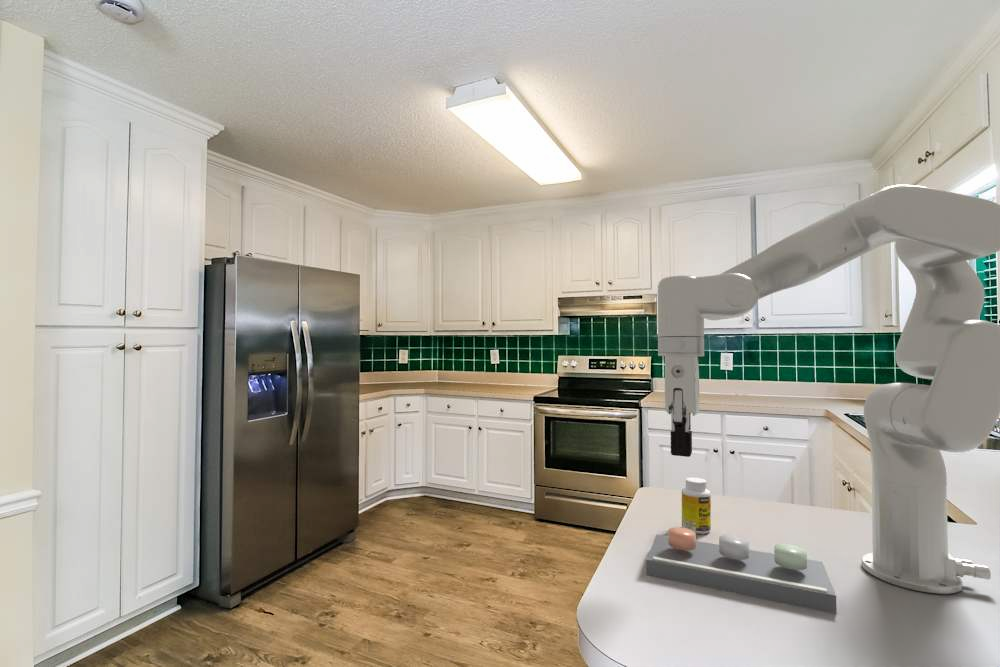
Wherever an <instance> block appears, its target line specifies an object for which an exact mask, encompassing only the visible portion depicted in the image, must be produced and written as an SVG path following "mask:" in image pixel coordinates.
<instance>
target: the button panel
mask: <svg viewBox="0 0 1000 667" xmlns="http://www.w3.org/2000/svg"><path fill="white" fill-rule="evenodd" d="M645 559H646V561H645V563H646V565H645V567H646V570H645V573H646V574H645V575H646V576H648V577H649V576H650V577H655V578H659V579H665V580H669V581H675V582H680V583H683V584H689V585H693V586H698V587H704V588H708V589H713V590H718V591H722V592H728V593H733V594H734V593H735V594H739V595H742V596H743V595H744V596H747V597H754V598H756V599H757V598H758V599H763V600H767V601H774V602H777V603H783V604H786V605H793V606H797V607H801V608H802V607H803V608H806V609H812V610H816V611H822V612H826V613H831V614H837V594H836V592H835V590H834V586H833V585H832V582H831V579H830V577H829V575H828V573H827V571H826V568H825V564H824V562H823V561H819V560H813V559H808V558H807V568H806V569H805V570H792V569H788V568H784V567H782V566H780V565H778V564H776V563H775V561H774V553H770V552H766V551H765V552H764V551H759V550H753V549H749V558H748V559H745V560H736V559H731V558H727V557H725V556H723V555H721V554H720V553H719V543H718V544H717V543H711V542H706V541H699V540H696V548H695V549H694V550H679V549H675V548H673V547H671V546H670V545H669V544H668V535H662V534H656V535H655V538H654V540H653V543H652V545H651V547H650V550H649V552H648V555H647V557H646V558H645Z"/></svg>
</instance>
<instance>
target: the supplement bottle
mask: <svg viewBox="0 0 1000 667" xmlns="http://www.w3.org/2000/svg"><path fill="white" fill-rule="evenodd" d="M707 488H708V485H707V480H706V479H704V478H700V477H687V478H685V486H684V487H682V489H681V528H687V529H690V530H692V531H694V532H695V533H696V535H697V534H698V535H705V534H708V533H710V532H711V527H712V526H711V525H712V523H711V522H712V519H711V517H712V516H711V515H712V514H711V513H712V512H711V511H712V510H711V508H712V507H711V506H712V502H711V501H712V500H711V498H712V497H711V496H712V495H711V491H710V490H709V489H707Z"/></svg>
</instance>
